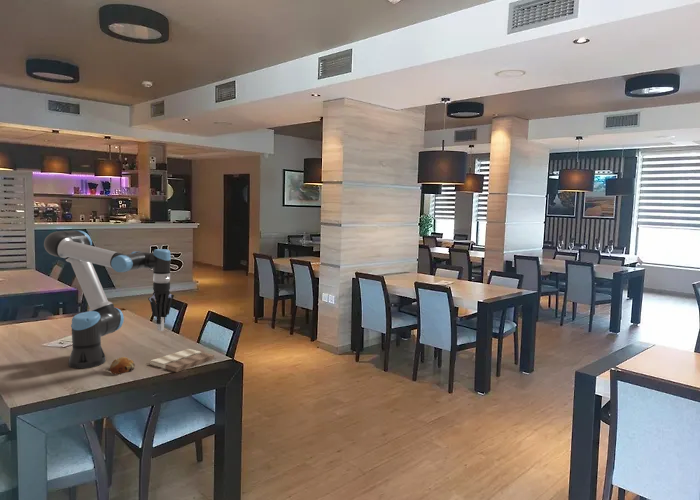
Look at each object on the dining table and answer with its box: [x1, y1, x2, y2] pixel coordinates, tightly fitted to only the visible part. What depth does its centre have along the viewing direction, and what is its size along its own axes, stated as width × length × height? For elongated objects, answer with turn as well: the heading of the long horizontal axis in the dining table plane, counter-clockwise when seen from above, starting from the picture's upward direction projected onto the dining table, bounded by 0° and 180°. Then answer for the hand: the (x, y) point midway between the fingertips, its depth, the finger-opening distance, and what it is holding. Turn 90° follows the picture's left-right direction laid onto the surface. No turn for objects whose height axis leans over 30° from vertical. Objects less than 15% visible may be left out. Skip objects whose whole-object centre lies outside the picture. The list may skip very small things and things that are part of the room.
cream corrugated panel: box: [150, 348, 202, 369], centre depth 231 cm, size 22×9×2 cm, turn 149°
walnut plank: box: [165, 352, 215, 373], centre depth 226 cm, size 22×8×2 cm, turn 149°
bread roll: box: [109, 356, 136, 375], centre depth 217 cm, size 10×10×8 cm
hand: (160, 330), depth 233 cm, fingers closed
